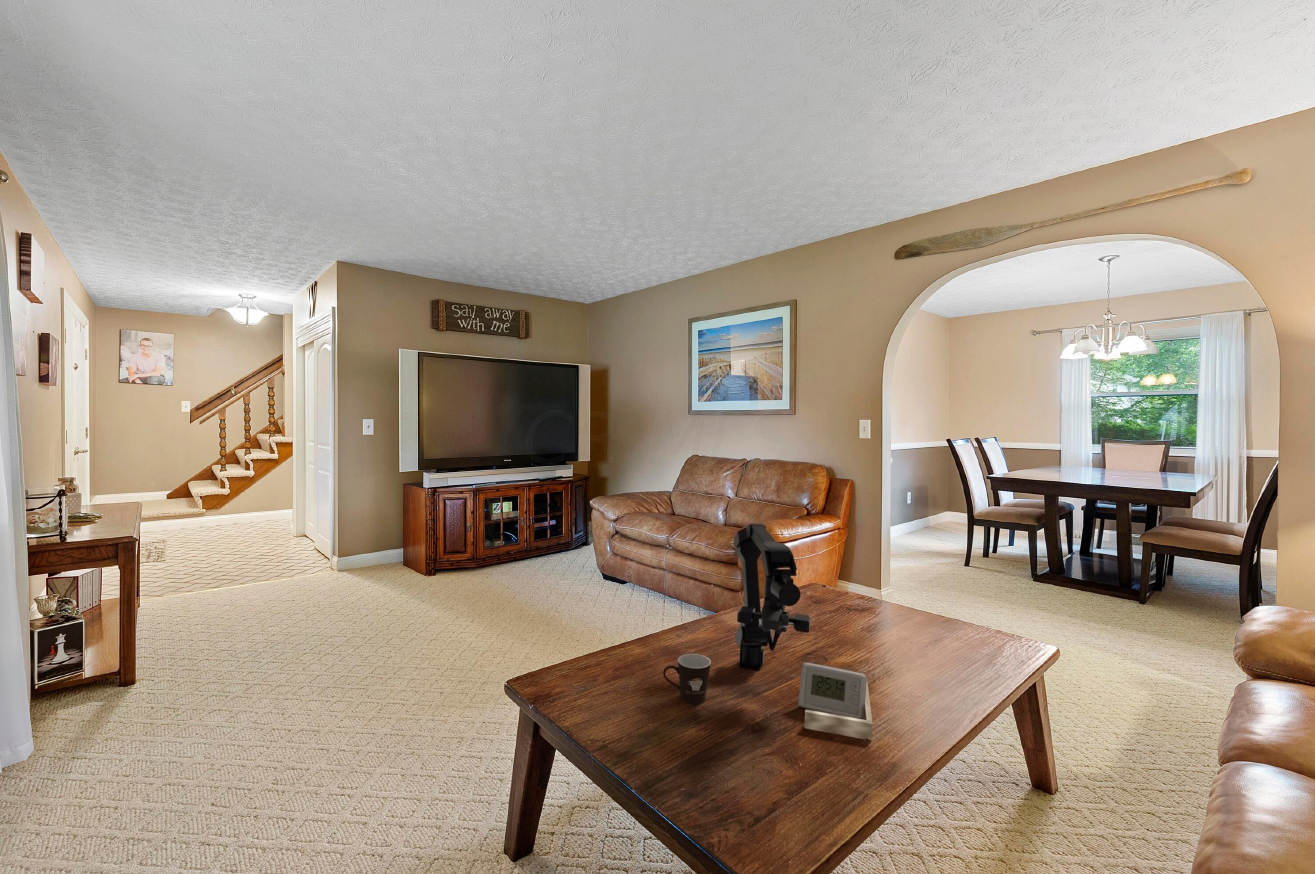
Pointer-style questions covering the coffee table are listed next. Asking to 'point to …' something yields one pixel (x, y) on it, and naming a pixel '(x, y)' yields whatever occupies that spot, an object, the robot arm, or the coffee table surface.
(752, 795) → the coffee table surface
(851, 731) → the bay
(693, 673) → the coffee mug
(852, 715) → the digital clock
